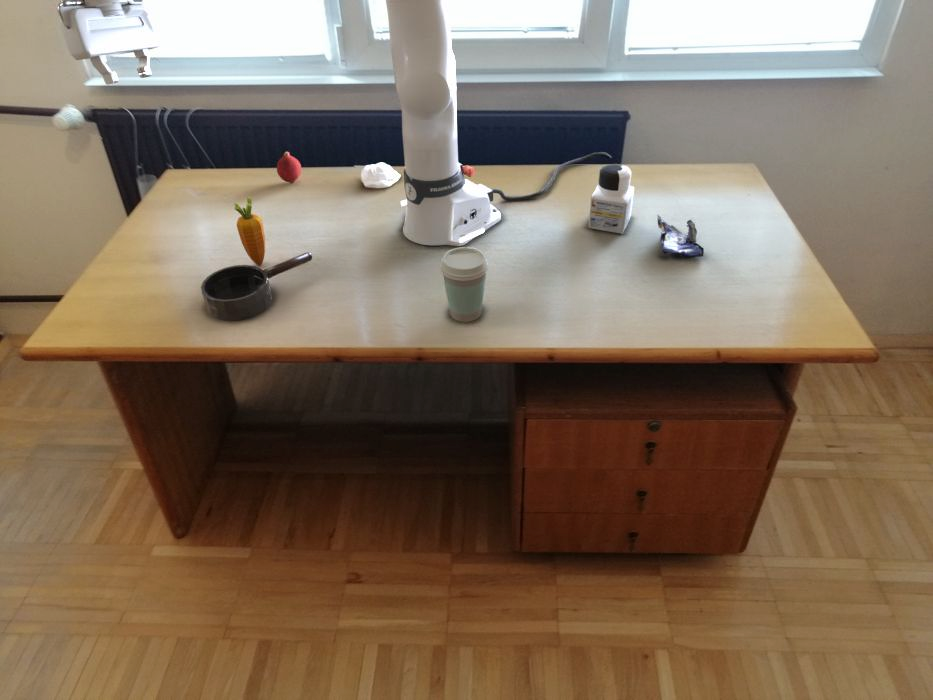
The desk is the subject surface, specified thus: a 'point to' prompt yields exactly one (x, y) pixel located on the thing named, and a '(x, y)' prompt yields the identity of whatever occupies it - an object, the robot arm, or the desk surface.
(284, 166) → the onion
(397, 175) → the white lumpy piece
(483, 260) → the coffee cup
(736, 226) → the desk surface
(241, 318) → the pan
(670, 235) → the snack package
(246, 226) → the carrot
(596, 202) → the container
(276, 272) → the pan handle
